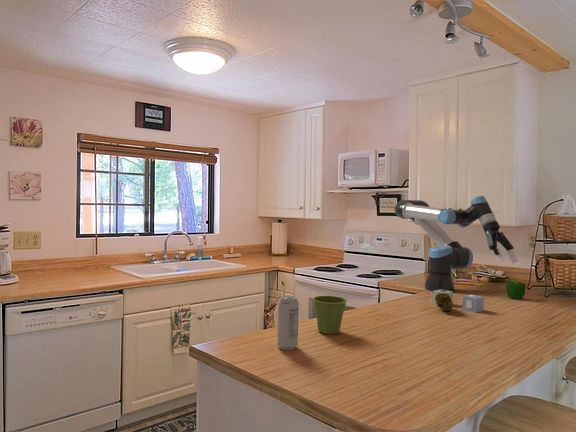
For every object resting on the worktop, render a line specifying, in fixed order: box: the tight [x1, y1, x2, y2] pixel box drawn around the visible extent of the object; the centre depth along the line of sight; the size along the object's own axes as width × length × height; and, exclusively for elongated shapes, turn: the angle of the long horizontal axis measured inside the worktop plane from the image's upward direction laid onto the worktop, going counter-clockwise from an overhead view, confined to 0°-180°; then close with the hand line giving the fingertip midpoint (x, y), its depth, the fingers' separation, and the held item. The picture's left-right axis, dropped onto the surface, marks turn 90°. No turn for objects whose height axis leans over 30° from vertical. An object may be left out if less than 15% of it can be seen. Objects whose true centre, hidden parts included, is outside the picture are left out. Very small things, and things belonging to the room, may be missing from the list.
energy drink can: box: [277, 295, 300, 351], centre depth 130 cm, size 6×6×15 cm
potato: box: [435, 293, 454, 312], centre depth 184 cm, size 8×13×8 cm, turn 138°
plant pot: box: [312, 295, 349, 336], centre depth 148 cm, size 12×12×11 cm
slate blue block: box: [462, 294, 485, 314], centre depth 186 cm, size 6×6×6 cm
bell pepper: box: [505, 277, 527, 300], centre depth 214 cm, size 8×8×10 cm
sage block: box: [432, 290, 454, 305], centre depth 196 cm, size 6×6×6 cm
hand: (508, 261), depth 213 cm, fingers open, 13 cm apart
